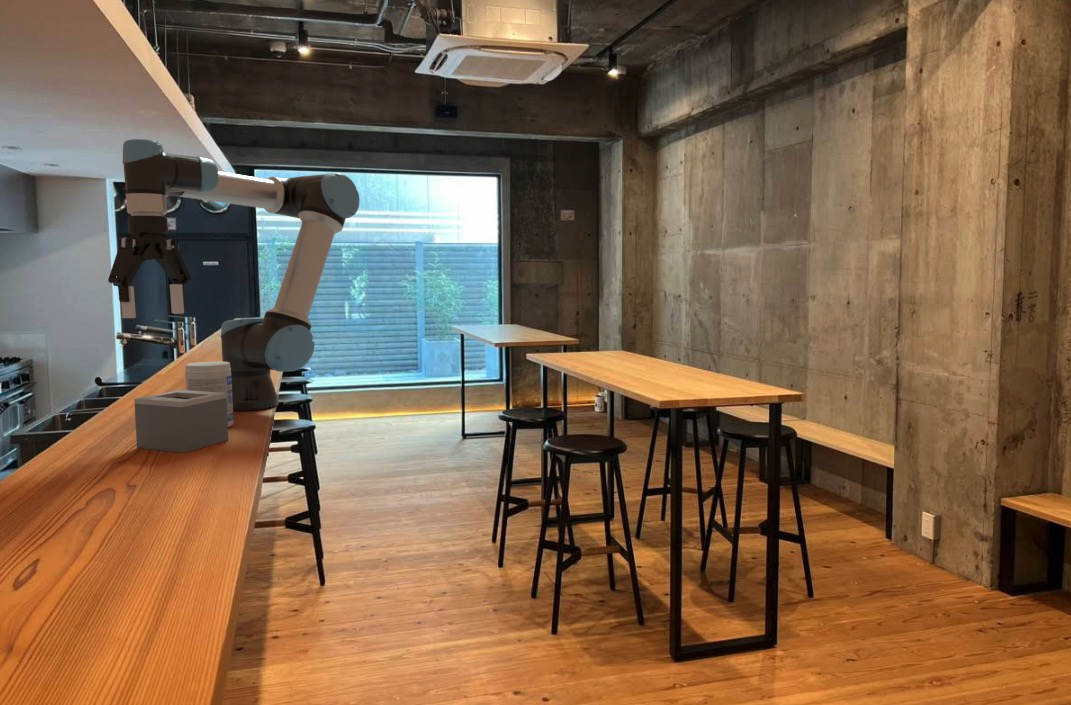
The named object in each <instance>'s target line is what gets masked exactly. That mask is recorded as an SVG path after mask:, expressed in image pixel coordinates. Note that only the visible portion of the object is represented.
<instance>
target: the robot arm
mask: <svg viewBox="0 0 1071 705" xmlns="http://www.w3.org/2000/svg"><path fill="white" fill-rule="evenodd" d="M122 164H123V174H124V176H123V177H124V187H125V188H124V189H125V200H126V213H128V214H130V216H128V217H127V218H126V219H127V230H128V233H129V234H130V235H131V237H119V238H118V248H117V252H116V255H115V258H114V260H113V265H112V268H111V270H110V274H109V275H108V280H107V282H108V283H109V284H112V285H113V286H114V287H117V290H118V301H119V302H120V303H121V304H120V305H121V317H122V319H136V318H137V314H136V303H135V302H136V301H135V289H134V288H135V287H134V286H132V285H131V283H132V282H133V280H134V278H135V277H136V275H137V273H138V271H139V270H140V268H141V267H142V265H143V263H145V262H146V261H148V260H150V261H153V260H154V261H155V262H157V263H158V264H159V266H160V267H161V269H162V270H163V271H164V272H165V274H166V275H167V276H168V278H169V279H170V281H171V282H172V284H169V292H170V293H169V294H170V305H171V306H170V307H171V314H174V315H175V314H177V315H178V314H180V315H181V314H182V315H183V314H185V307H184V298H185V286H184V285H186V284H188V282H189V281H191V279H192V278H191V275H190V272H189V271H188V268H187V265H186V262H185V261H184V259H183V256H182V253H181V252H180V250H179V248H180V247H179V243H178V239H176V238H171V239H170V238H166V235H168V233H169V223H168V218H167V217H166V216H165V215H167V214H168V207H167V206H168V204H167V196H172V197H181V198H186V199H187V198H188V199H195V200H201V201H208V202H215V203H216V202H217V203H223V204H224V203H225V204H230V205H237V206H243V207H244V206H245V207H252V208H258V209H259V208H260V209H264V211H265V212H267V213H269V214H275V215H280V216H281V215H282V216H284V217H285V216H286V217H290V218H297V219H299V220H300V222H301V225H300V229H299V231H298V234H297V236H296V240H295V243H294V246H293V249H292V252H291V255H290V257H289V258H290V259H289V261H288V264H287V268H286V270H285V273H284V276H283V279H282V281H281V285H280V288H279V291H278V294H277V297H276V300H275V303H274V307H271V308H270V309H268V310H266V311H265V313H264V316H263V317H247V318H246V317H245V318H238V319H230V320H226V321H224V322H223V323H222V324H221V326H220V327H221V328H220V340H221V362H229V363H230V368H231V379H232V399H233V412H236V411H237V412H238V411H242V412H243V411H246V412H247V411H256V410H264V409H270V408H269V407H271V408H274V407H277V406H278V405H279V396H278V394H277V392H276V389H275V386H274V383H273V379H272V377H271V371H276V372H279V373H280V372H284V373H285V372H295V371H298V370H300V369H301V368H303V367H305V365H307V364H308V363H309V361H310V360H311V358H312V357H313V354H314V351H315V341H314V336H313V335H314V334H313V333H312V331H311V330H312V323H311V321H310V319H309V315H310V312H311V310H312V306H313V302H314V300H315V297H316V293H317V290H318V287H319V285H320V281H321V278H322V275H323V272H324V271H323V270H324V269H325V265H326V262H327V258H328V255H329V252H330V250H331V247H332V243H333V240H334V237H335V235H336V234H338V233H340V232H342V231H343V229H344V224H345V222H346V219H349V218H352V217H353V216H355V215H356V214H357V213H358V210H359V208H360V194H359V191H358V190H357V185H356V184H355V183H354V182H353V180H352V179H351V178H350V177H349V176H347V175H346V174H344V173H339V172H334V173H333V172H326V173H323V174H313V175H302V176H293V177H276V176H270V177H268V178H267V179H265V178H261V177H260V178H259V177H256V176H249V175H244V174H243V175H242V174H237V173H233V172H225V171H220V170H218V167H217V164H216V163H215V162H214V161H213V160H212V159H210V158H205V157H201V156H199V155H198V156H192V155H185V154H184V155H183V154H174V153H168V152H164V148H163V144H162V143H161V142H160V141H158V140H157V141H156V140H153V139H145V138H133V139H127V140H124V142H123V143H122ZM130 285H131V286H130ZM273 406H274V407H273Z"/></svg>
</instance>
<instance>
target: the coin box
mask: <svg viewBox="0 0 1071 705" xmlns="http://www.w3.org/2000/svg"><path fill="white" fill-rule="evenodd" d="M133 399H134V400H133V401H134V414H135V415H134V416H135V418H134V419H135V436H136V437H135V438H136V439H135V440H136V448H137V449H145V450H153V451H154V450H155V451H164V452H174V453H182V454H185V453H188V452H193V451H195V450H199V449H201V448H206V447H208V446H213V445H216V444H219V443H223V442H226V441H229V427H228V415H227V393H220V392H205V391H191V390H186V389H178V390H173V391H168V392H163V393H158V394H157V393H156V394H152V395H146V396H141V397H135V398H133Z"/></svg>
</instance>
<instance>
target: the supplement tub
mask: <svg viewBox="0 0 1071 705" xmlns="http://www.w3.org/2000/svg"><path fill="white" fill-rule="evenodd" d="M184 372H185V374H184V377H185V390H191V391H205V392H220V393H227V415H228V428H231V427H232V426H233V425H234V411H233V399H232V379H231V368H230V363H229V362H222V361H218V360H217V361H201V362H199V361H198V362H190V363H186V364H185V370H184Z"/></svg>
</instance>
